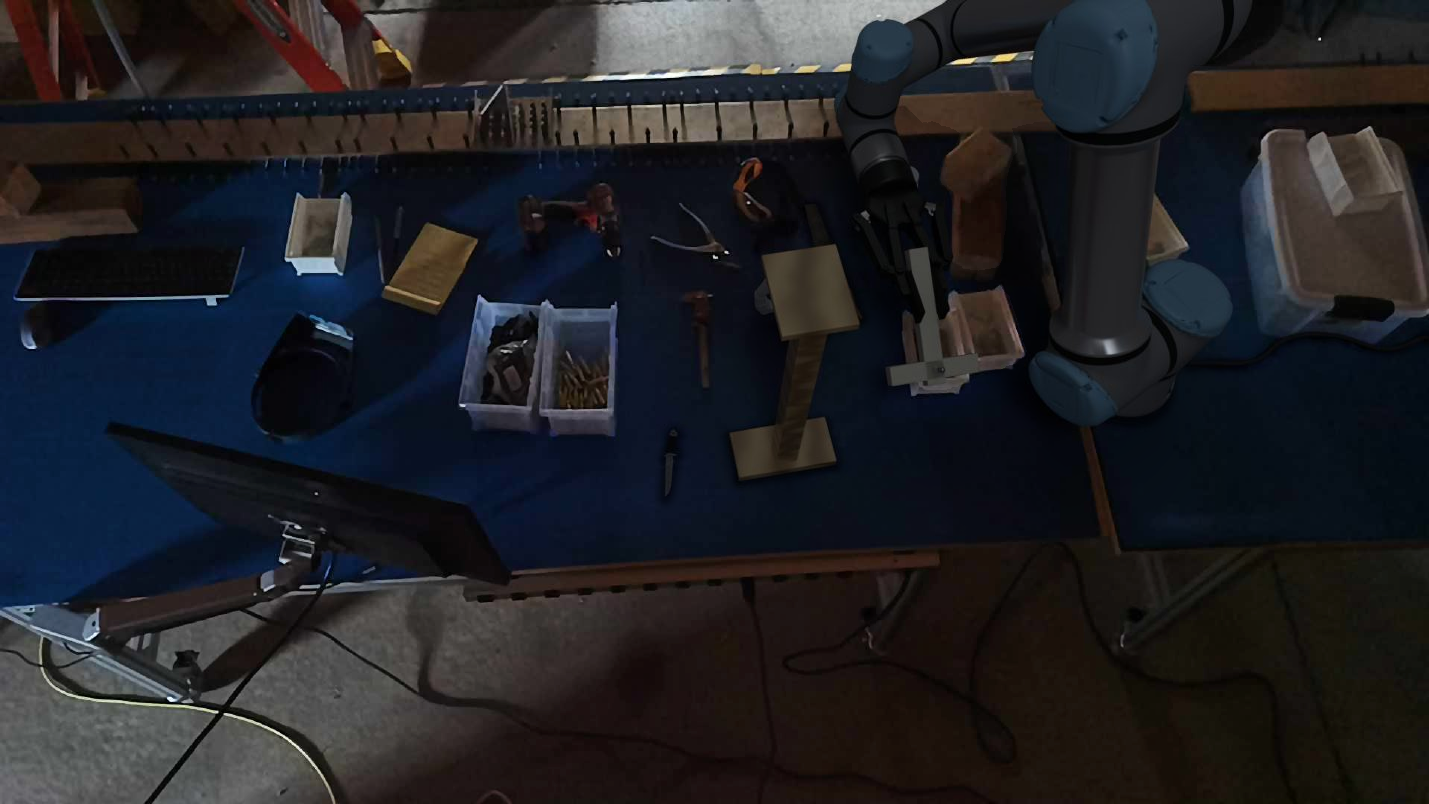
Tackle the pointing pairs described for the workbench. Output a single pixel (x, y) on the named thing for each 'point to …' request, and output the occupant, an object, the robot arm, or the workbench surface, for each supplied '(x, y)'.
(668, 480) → the knife
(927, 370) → the grey t-shaped block
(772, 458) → the stand
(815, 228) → the hand saw
